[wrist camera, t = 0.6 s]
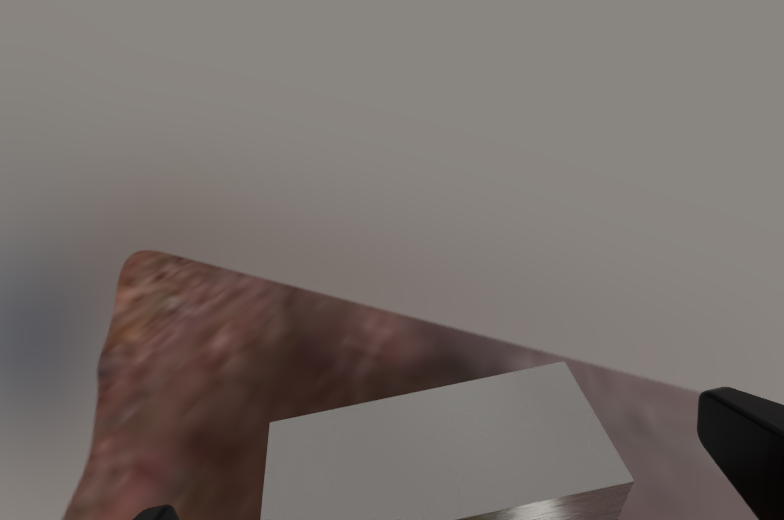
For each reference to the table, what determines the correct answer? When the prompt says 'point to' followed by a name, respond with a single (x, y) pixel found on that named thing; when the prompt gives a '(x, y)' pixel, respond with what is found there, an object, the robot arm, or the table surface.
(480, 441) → the bearing block
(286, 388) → the table surface
